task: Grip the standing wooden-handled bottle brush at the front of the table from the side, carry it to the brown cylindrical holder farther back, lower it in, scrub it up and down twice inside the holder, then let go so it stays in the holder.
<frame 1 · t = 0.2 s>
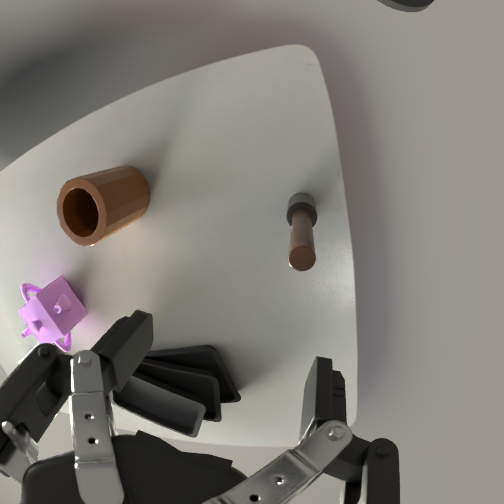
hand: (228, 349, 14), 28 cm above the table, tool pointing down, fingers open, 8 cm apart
teapot: (67, 299, 52), on the table
brush: (301, 205, 38), on the table
brown cylindrical holder: (125, 194, 41), on the table
tray: (173, 383, 55), on the table
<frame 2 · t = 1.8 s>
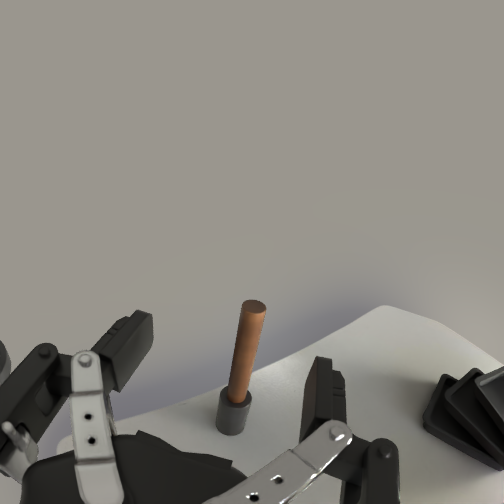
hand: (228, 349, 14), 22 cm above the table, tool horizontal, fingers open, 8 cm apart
brush: (230, 424, 32), on the table
tray: (489, 425, 30), on the table
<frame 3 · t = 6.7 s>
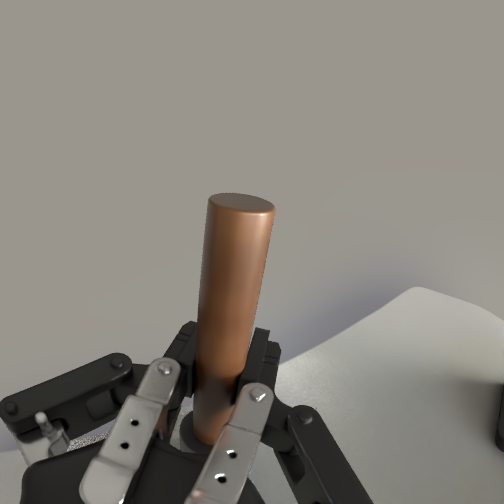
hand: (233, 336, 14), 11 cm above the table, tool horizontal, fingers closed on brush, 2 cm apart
brush: (207, 470, 16), on the table, touching gripper
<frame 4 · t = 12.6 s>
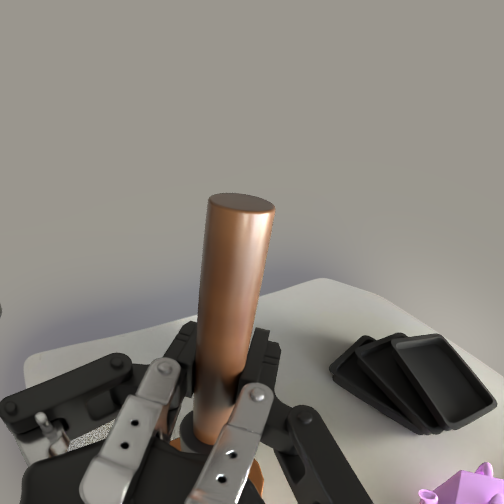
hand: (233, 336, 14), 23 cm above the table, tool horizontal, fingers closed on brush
brush: (207, 470, 16), point 13 cm above the table, touching gripper
tray: (413, 389, 41), on the table
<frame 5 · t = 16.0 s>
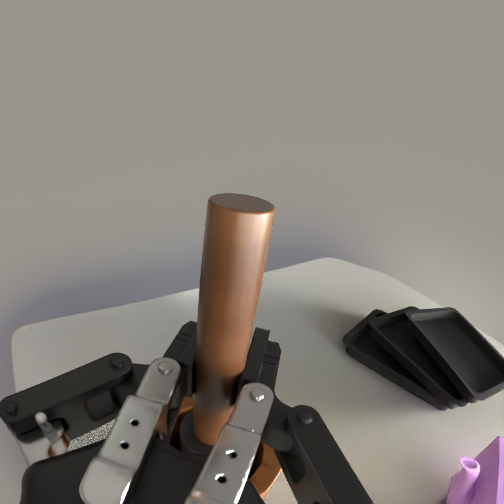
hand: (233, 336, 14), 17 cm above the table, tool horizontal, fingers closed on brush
brush: (207, 470, 16), point 7 cm above the table, touching gripper
brown cylindrical holder: (205, 496, 19), on the table
tray: (431, 364, 38), on the table
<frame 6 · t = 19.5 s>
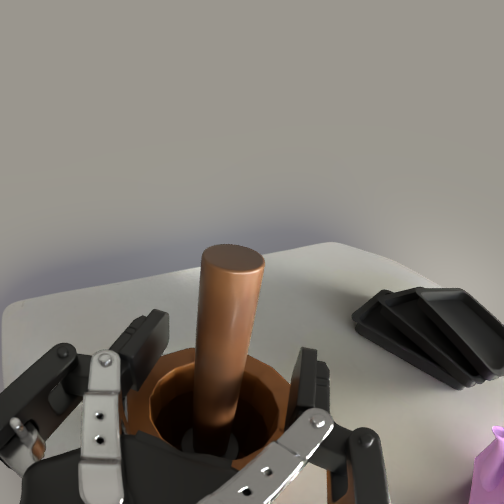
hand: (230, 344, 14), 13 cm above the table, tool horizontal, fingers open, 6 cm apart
brush: (206, 479, 17), point 1 cm above the table, touching brown cylindrical holder
brown cylindrical holder: (206, 482, 17), on the table
tray: (442, 345, 37), on the table
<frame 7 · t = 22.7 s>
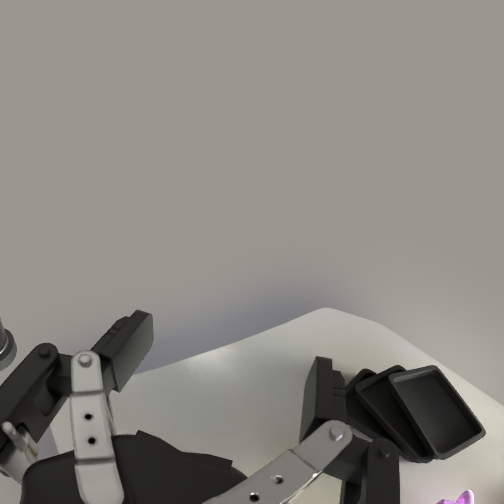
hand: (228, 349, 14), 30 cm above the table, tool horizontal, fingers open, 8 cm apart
tray: (408, 419, 42), on the table
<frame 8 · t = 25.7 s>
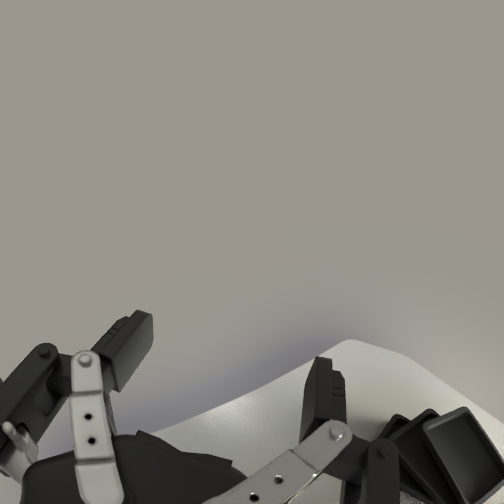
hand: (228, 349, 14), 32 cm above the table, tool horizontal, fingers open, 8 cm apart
tray: (438, 464, 34), on the table
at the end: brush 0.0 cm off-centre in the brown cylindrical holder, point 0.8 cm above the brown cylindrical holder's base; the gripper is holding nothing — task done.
